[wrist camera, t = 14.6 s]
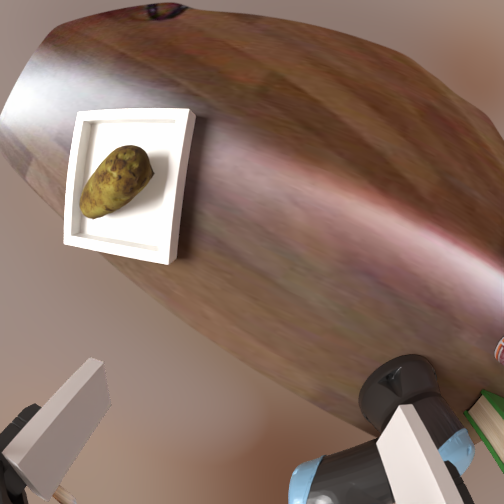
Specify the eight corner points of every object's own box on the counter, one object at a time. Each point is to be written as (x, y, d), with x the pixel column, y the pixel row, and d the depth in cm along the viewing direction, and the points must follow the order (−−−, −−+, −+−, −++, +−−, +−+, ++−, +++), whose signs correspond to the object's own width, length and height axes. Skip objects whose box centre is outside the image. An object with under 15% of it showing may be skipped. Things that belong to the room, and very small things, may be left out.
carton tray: (176, 258, 39) (168, 264, 36) (76, 239, 39) (63, 243, 36) (196, 115, 35) (189, 109, 31) (90, 116, 35) (77, 111, 32)
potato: (87, 166, 36) (53, 163, 28) (162, 144, 35) (136, 134, 27) (94, 219, 38) (61, 227, 30) (170, 204, 36) (145, 208, 29)
